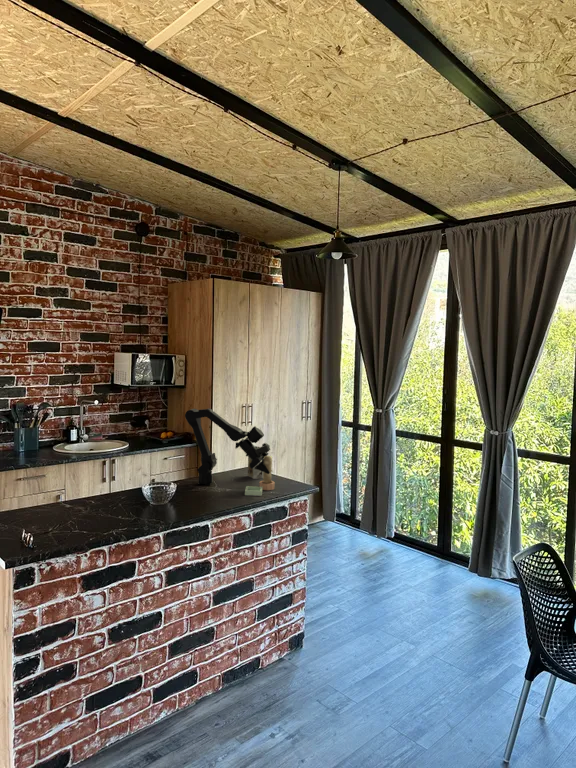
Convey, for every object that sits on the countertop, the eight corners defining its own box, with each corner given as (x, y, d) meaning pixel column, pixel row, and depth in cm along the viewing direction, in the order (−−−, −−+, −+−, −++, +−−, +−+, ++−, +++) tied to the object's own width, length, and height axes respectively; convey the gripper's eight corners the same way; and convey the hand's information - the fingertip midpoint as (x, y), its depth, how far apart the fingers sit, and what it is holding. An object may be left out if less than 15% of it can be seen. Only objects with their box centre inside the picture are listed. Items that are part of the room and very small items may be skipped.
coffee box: (247, 475, 294) (248, 446, 293) (258, 474, 297) (258, 446, 296) (253, 479, 286) (254, 450, 285) (264, 479, 289) (265, 449, 287)
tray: (244, 496, 256) (245, 490, 256) (246, 491, 264) (246, 486, 264) (261, 496, 256) (261, 491, 256) (262, 491, 264) (262, 486, 264)
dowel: (262, 488, 268) (263, 457, 266) (263, 486, 272) (264, 455, 270) (270, 489, 268) (271, 457, 266) (271, 487, 272) (272, 455, 270)
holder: (259, 490, 266) (259, 483, 265) (259, 486, 273) (260, 479, 273) (274, 491, 266) (274, 484, 265) (274, 487, 273) (274, 480, 273)
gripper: (256, 442, 259) (277, 466, 258) (265, 435, 277) (285, 458, 276) (240, 456, 261) (261, 481, 260) (250, 449, 279) (269, 472, 278)
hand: (270, 472), depth 269 cm, fingers closed on dowel, 4 cm apart
